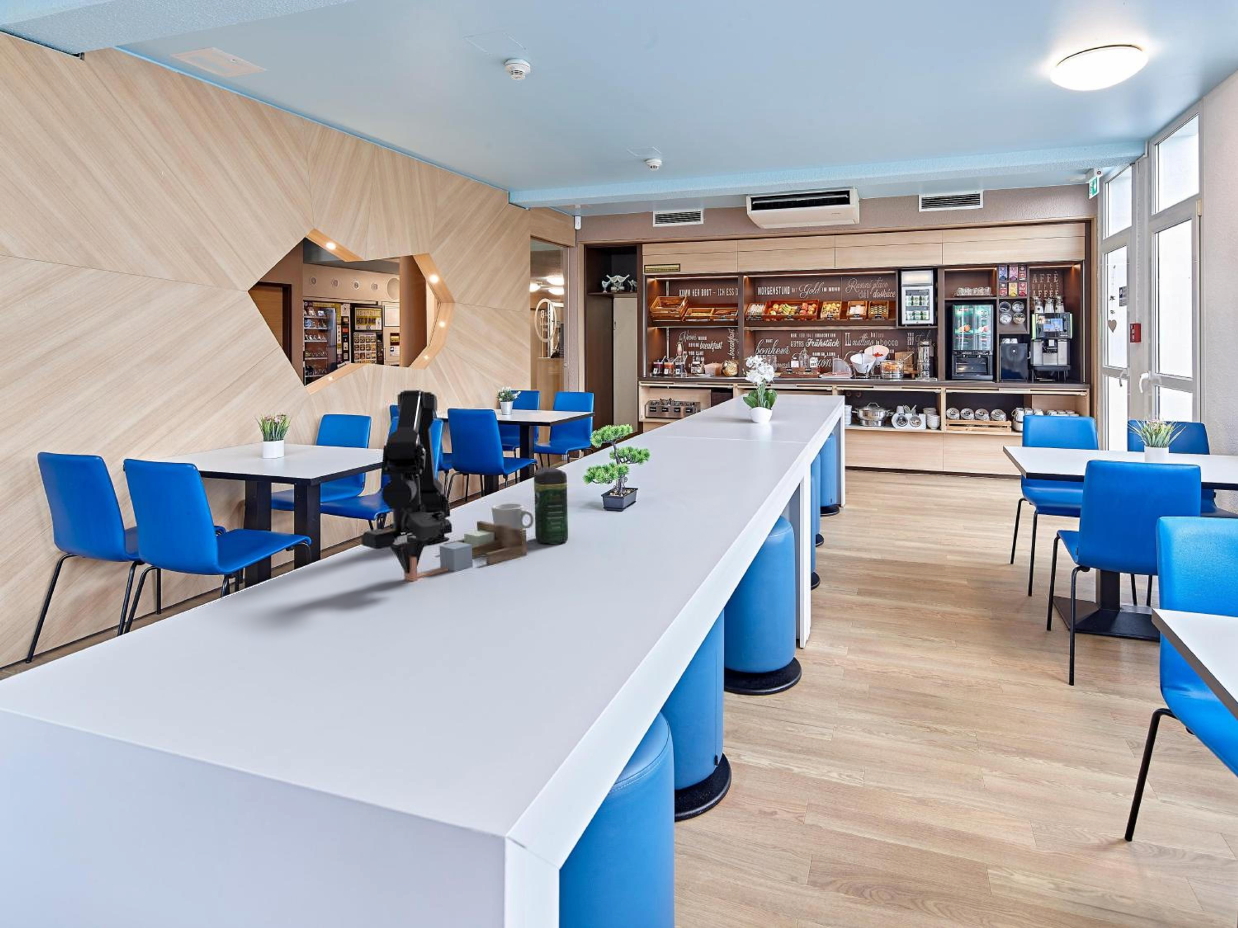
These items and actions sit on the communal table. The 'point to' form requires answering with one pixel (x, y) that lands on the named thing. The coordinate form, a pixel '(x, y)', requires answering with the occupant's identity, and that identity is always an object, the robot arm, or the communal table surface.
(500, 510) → the cup
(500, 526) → the lane rack
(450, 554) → the wooden bar with block
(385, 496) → the robot arm
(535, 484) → the coffee jar
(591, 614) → the communal table surface
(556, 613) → the communal table surface
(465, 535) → the green block
